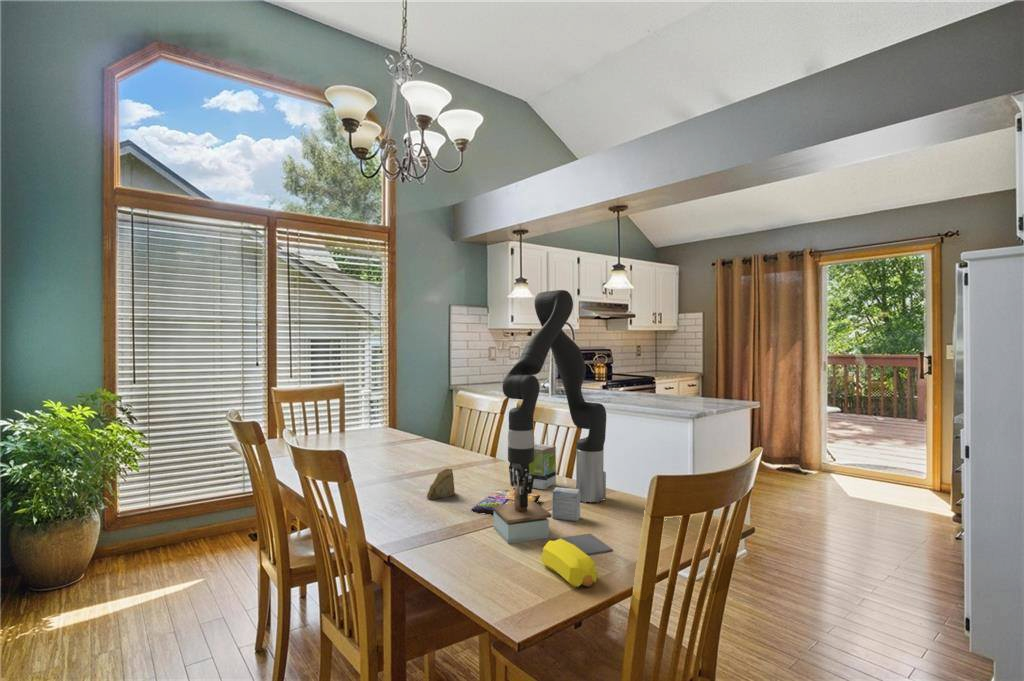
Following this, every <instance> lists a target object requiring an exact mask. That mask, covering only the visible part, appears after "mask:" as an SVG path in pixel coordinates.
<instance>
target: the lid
mask: <svg viewBox="0 0 1024 681" xmlns="http://www.w3.org/2000/svg"><path fill="white" fill-rule="evenodd" d="M522 488H523V486H522ZM492 509H493V510H494V511H495V512H496V513H497V514H498V515H499V516H501V517H502V518H503V519H504V520H505V521H506V522H507V523H513V522H521V521H528V520H535V519H543V518H547V519H548V518H549V519H550V518H552V513H551V512H549V511H548V510H547V509H545V508H544V507H542V506H541V505H540V504H538V502H537V503H536V502H534V501H528V507H527V508H521V507H520V493H519V486H518V485H517V484H516V485H515V503H510V504H502V505H494V506H492Z"/></svg>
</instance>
